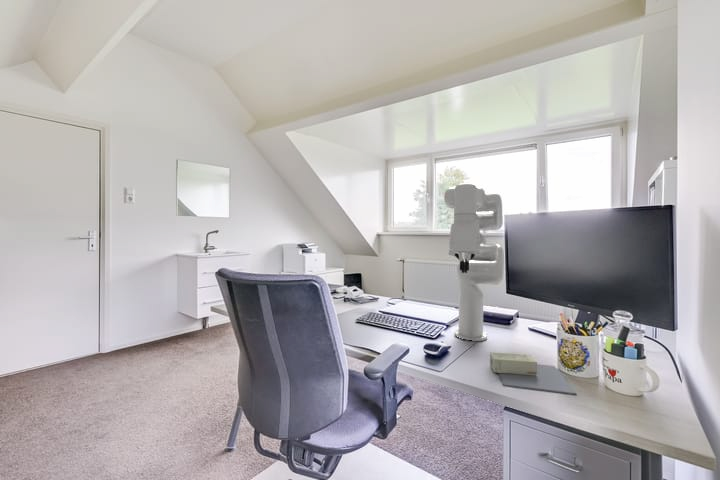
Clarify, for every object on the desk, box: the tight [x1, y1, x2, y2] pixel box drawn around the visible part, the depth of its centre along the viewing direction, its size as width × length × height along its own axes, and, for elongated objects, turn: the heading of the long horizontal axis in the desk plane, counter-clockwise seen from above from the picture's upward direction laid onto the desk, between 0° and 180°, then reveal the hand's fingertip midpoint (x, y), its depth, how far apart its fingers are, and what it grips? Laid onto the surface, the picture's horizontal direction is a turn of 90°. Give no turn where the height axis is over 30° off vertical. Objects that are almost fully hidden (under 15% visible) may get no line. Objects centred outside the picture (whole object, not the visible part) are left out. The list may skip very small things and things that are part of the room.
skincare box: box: [489, 351, 538, 376], centre depth 99 cm, size 6×4×12 cm
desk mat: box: [498, 363, 577, 396], centre depth 96 cm, size 18×18×1 cm
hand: (464, 272), depth 111 cm, fingers closed
